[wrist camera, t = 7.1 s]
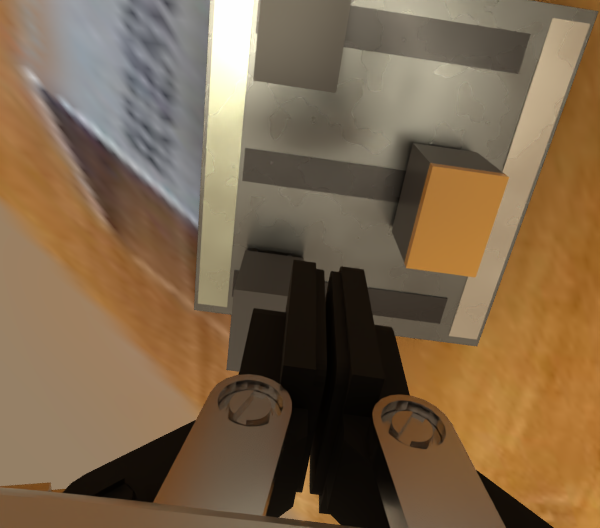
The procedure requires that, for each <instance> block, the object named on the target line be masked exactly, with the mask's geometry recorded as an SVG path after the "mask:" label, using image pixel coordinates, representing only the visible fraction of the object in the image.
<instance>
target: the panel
mask: <svg viewBox="0 0 600 528" xmlns="http://www.w3.org/2000/svg"><path fill="white" fill-rule="evenodd" d="M260 1H261V0H210V16H209V35H208V54H207V73H206V92H205V111H204V130H203V150H202V169H201V188H200V207H199V226H198V245H197V264H196V283H195V303H194V310H199V311H207V312H215V313H222V314H230V315H232V305H233V294H234V287H235V284H236V281H237V277H238V274H239V270H240V267H241V263H242V260H243V256H244V253H245V250H247V251H255V252H262V253H270V254H277V255H284V256H292V257H299V258H304V261H308V262H315V263H316V269H322V270H324V274H325V297H326V292H327V287H328V282H329V276H330V272H331V271H336V272H339V269H340V267H341V266H343V267H350V268H357V269H364V272H365V277H366V282H367V288H368V293H369V298H370V304H371V309H372V314H373V320H374V325H381V326H389V327H392V328H393V330H394V334H395V336H401V337H409V338H417V339H424V340H432V341H440V342H448V343H456V344H463V345H471V346H477V345H478V343H479V340H480V337H481V334H482V332H483V329H484V326H485V323H486V320H487V318H488V315H489V312H490V309H491V307H492V304H493V301H494V298H495V296H496V293H497V290H498V287H499V285H500V282H501V279H502V276H503V274H504V271H505V268H506V265H507V262H508V260H509V257H510V254H511V251H512V249H513V246H514V243H515V240H516V238H517V235H518V232H519V229H520V227H521V224H522V221H523V218H524V216H525V213H526V210H527V207H528V205H529V202H530V199H531V196H532V193H533V191H534V188H535V185H536V182H537V180H538V177H539V174H540V171H541V169H542V166H543V163H544V160H545V158H546V155H547V152H548V149H549V147H550V144H551V141H552V138H553V136H554V133H555V130H556V127H557V124H558V122H559V119H560V116H561V113H562V111H563V108H564V105H565V102H566V100H567V97H568V94H569V91H570V89H571V86H572V83H573V80H574V78H575V75H576V72H577V69H578V66H579V64H580V61H581V58H582V55H583V53H584V50H585V47H586V44H587V42H588V39H589V36H590V33H591V31H592V28H593V25H594V22H595V20H596V17H597V14H598V11H593V10H587V9H581V8H575V7H568V6H562V5H556V4H550V3H544V2H537V1H531V0H351V5H350V11H349V17H348V23H347V29H346V35H345V41H344V48H343V54H342V60H341V66H340V72H339V78H338V84H337V90H336V93H332V92H326V91H319V90H312V89H306V88H299V87H292V86H286V85H279V84H272V83H266V82H259V81H253V77H254V66H255V55H256V44H257V34H258V23H259V12H260ZM413 143H417V144H424V145H431V146H437V147H444V148H451V149H458V150H465V151H472V152H477V153H478V154H480V155H481V156H482V157H484V158H485V159H486V160H488V161H489V162H490V163H491V164H493V165H494V166H495V167H497V168H498V169H499V170H501V171H502V172H503V173H504V174H506V175H507V176H508V177H509V179H508V182H507V185H506V188H505V191H504V194H503V197H502V200H501V203H500V206H499V209H498V212H497V215H496V218H495V221H494V224H493V227H492V230H491V233H490V236H489V239H488V242H487V245H486V248H485V251H484V254H483V257H482V260H481V263H480V266H479V269H478V272H477V275H476V277H468V276H461V275H454V274H446V273H439V272H431V271H424V270H417V269H409V268H406V266H405V264H404V261H403V259H402V256H401V254H400V251H399V248H398V246H397V243H396V241H395V238H394V236H393V233H392V228H393V224H394V220H395V216H396V211H397V207H398V203H399V199H400V195H401V191H402V186H403V182H404V178H405V174H406V170H407V165H408V161H409V157H410V153H411V149H412V145H413Z"/></svg>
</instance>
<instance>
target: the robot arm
mask: <svg viewBox="0 0 600 528" xmlns="http://www.w3.org/2000/svg"><path fill="white" fill-rule="evenodd" d="M309 457H310V494H317V495H319V513H323V514H331V515H332V516H333V517H334V518H335V519H336V520H337V521H338V522H339V523H340V524H341V525H335V524H327V523H318V522H310V521H302V520H294V519H285V518H278V517H280V516H281V515H282V514H284V513H285V512H286V511H288V510H289V509H290V508H292V507H293V504H294V499H295V494H296V492H301V493H302V490H303V486H304V481H305V476H306V471H307V467H308V462H309ZM0 528H553V527H552V526H551V525H549V524H548V523H547V522H545V521H544V520H543V519H541V518H540V517H539V516H537V515H536V514H535V513H533V512H532V511H531V510H529V509H528V508H527V507H525V506H524V505H523V504H521V503H520V502H519V501H517V500H516V499H515V498H513V497H512V496H511V495H509V494H508V493H506V492H505V491H504V490H502V489H501V488H500V487H498V486H497V485H496V484H494V483H493V482H492V481H490V480H489V479H488V478H486V477H485V476H484V475H482V474H481V473H480V472H478V471H477V470H476V469H475V467H474V466H473V464H472V462H471V460H470V458H469V456H468V454H467V452H466V450H465V448H464V446H463V444H462V442H461V440H460V439H459V437H458V435H457V433H456V431H455V429H454V427H453V425H452V423H451V422H450V421H449V419H448V418H447V416H446V415H445V414H444V413H443V412H442V411H440V410H439V409H438V408H437V407H436V406H434V405H432V404H431V403H429V402H427V401H425V400H423V399H420V398H417V397H414V396H410V394H409V390H408V386H407V382H406V378H405V374H404V370H403V366H402V362H401V358H400V354H399V350H398V346H397V342H396V338H395V334H394V330H393V328H392V327H389V326H381V325H374V320H373V314H372V309H371V304H370V298H369V293H368V288H367V282H366V277H365V272H364V269H357V268H350V267H343V266H341V267H340V269H339V272H336V271H331V272H330V276H329V282H328V287H327V292H326V297H325V274H324V270H322V269H316V263H315V262H308V261H301V260H293V265H292V272H291V278H290V285H289V291H288V298H287V305H286V311H285V312H280V311H273V310H266V309H258V308H254V309H253V312H252V317H251V321H250V326H249V330H248V335H247V339H246V344H245V348H244V353H243V357H242V362H241V367H240V371H239V375H236V376H233V377H230V378H226V379H225V380H223V381H221V382H220V383H218V384H217V385H216V386H215V387H214V389H213V390H212V391H211V392H210V394H209V396H208V398H207V400H206V402H205V404H204V406H203V408H202V410H201V412H200V413H199V415H198V417H197V419H196V420H195V421H193V422H191V423H189V424H186V425H184V426H182V427H180V428H178V429H176V430H174V431H172V432H170V433H168V434H166V435H164V436H162V437H160V438H158V439H156V440H154V441H152V442H150V443H148V444H146V445H144V446H142V447H140V448H138V449H136V450H134V451H132V452H129V453H127V454H126V455H123V456H121V457H119V458H117V459H115V460H113V461H111V462H109V463H107V464H105V465H103V466H101V467H99V468H97V469H95V470H93V471H91V472H89V473H87V474H85V475H84V476H82V477H80V478H79V479H77V480H76V481H74V482H72V483H71V484H70V485H69V486H68V487H67V488H66V489H58V490H51V483H38V484H25V485H11V486H0Z"/></svg>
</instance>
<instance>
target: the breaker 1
mask: <svg viewBox="0 0 600 528" xmlns="http://www.w3.org/2000/svg"><path fill="white" fill-rule="evenodd" d="M350 5H351V0H261V1H260V12H259V23H258V34H257V44H256V55H255V66H254V77H253V81H259V82H266V83H272V84H279V85H286V86H292V87H299V88H306V89H312V90H319V91H326V92H332V93H336V90H337V84H338V78H339V72H340V66H341V60H342V54H343V48H344V41H345V35H346V29H347V23H348V17H349V11H350Z"/></svg>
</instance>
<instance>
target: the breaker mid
mask: <svg viewBox="0 0 600 528" xmlns="http://www.w3.org/2000/svg"><path fill="white" fill-rule="evenodd" d="M508 179H509V177H508V176H507V175H506V174H504V173H503V172H502V171H501V170H499V169H498V168H497V167H495V166H494V165H493V164H491V163H490V162H489V161H488V160H486V159H485V158H484V157H482V156H481V155H480V154H478V153H477V152H472V151H465V150H458V149H451V148H444V147H437V146H431V145H424V144H417V143H413V145H412V149H411V153H410V157H409V161H408V165H407V170H406V174H405V178H404V182H403V186H402V191H401V195H400V199H399V203H398V207H397V211H396V216H395V220H394V224H393V228H392V233H393V236H394V238H395V241H396V243H397V246H398V248H399V251H400V254H401V256H402V259H403V261H404V264H405V266H406V268H409V269H417V270H424V271H431V272H439V273H446V274H454V275H461V276H468V277H476V275H477V272H478V269H479V266H480V263H481V260H482V257H483V254H484V251H485V248H486V245H487V242H488V239H489V236H490V233H491V230H492V227H493V224H494V221H495V218H496V215H497V212H498V209H499V206H500V203H501V200H502V197H503V194H504V191H505V188H506V185H507V182H508Z"/></svg>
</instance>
